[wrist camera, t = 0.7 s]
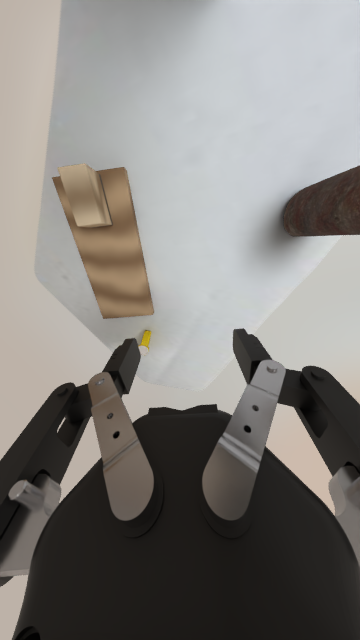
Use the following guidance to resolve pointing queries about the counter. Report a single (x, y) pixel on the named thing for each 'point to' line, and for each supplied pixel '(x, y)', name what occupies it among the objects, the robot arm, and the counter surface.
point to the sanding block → (86, 195)
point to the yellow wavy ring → (145, 343)
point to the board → (113, 250)
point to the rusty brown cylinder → (326, 207)
